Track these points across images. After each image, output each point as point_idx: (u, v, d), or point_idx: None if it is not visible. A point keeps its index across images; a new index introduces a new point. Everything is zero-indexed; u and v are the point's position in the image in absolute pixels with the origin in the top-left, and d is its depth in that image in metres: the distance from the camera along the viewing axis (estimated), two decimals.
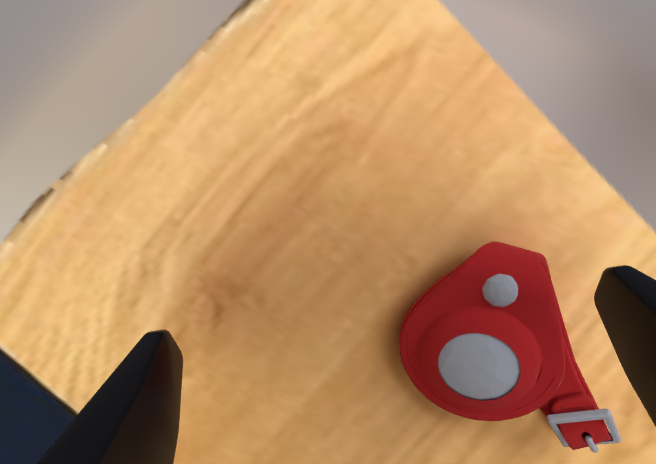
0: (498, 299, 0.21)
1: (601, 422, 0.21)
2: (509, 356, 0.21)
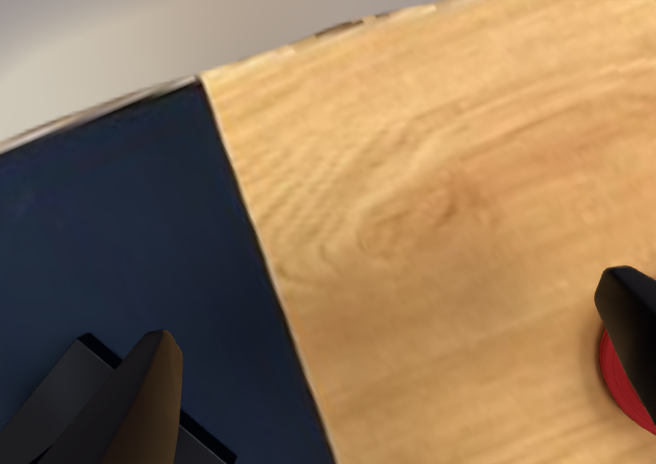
0: None
1: None
2: None
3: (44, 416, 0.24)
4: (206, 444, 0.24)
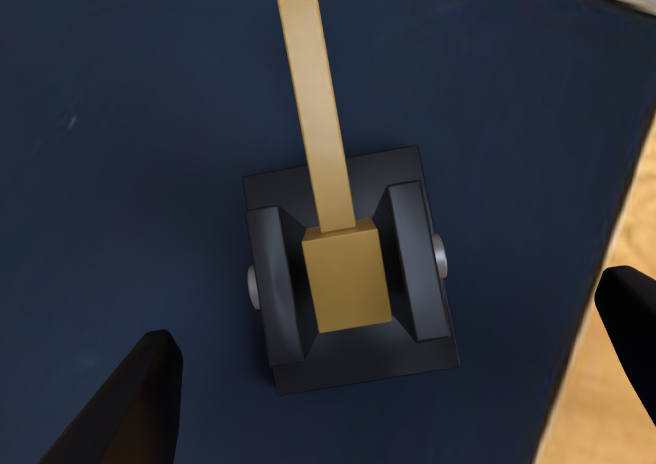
0: None
1: None
2: None
3: None
4: None
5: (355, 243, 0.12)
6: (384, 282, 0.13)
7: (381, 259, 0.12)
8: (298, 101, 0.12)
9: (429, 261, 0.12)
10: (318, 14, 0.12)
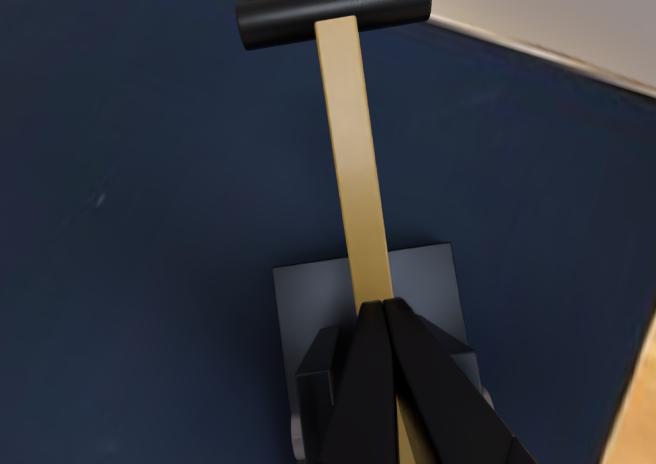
0: None
1: None
2: None
3: None
4: None
5: None
6: None
7: None
8: (351, 262, 0.12)
9: None
10: (376, 179, 0.12)
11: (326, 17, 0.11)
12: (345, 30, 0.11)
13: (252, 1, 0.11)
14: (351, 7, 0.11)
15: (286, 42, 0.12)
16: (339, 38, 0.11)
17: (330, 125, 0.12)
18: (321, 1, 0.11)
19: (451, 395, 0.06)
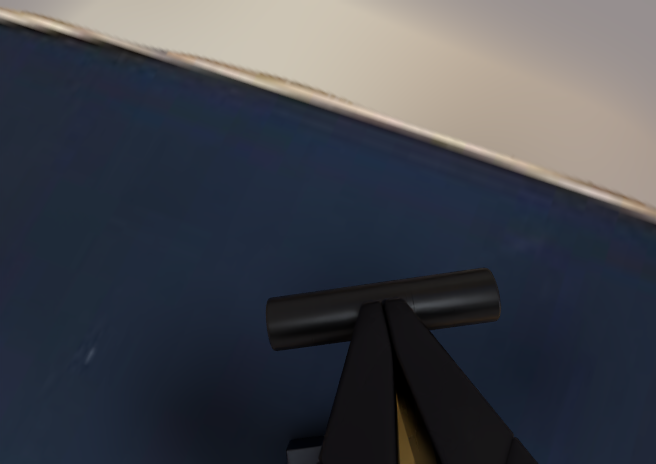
0: None
1: None
2: None
3: None
4: None
5: None
6: None
7: None
8: None
9: None
10: None
11: None
12: None
13: (286, 306, 0.10)
14: None
15: (324, 344, 0.10)
16: None
17: None
18: None
19: (451, 395, 0.06)
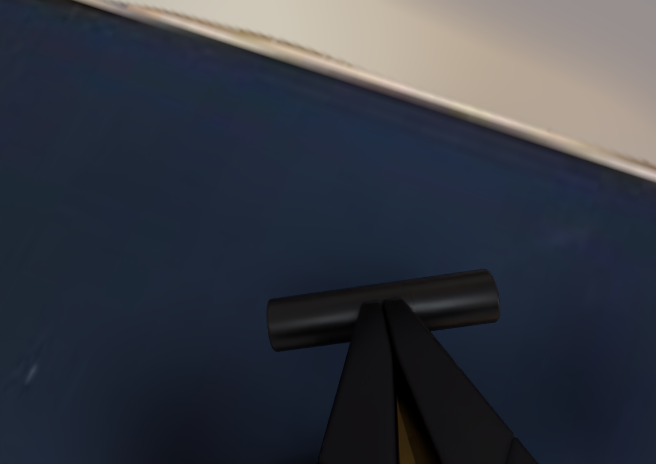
0: None
1: None
2: None
3: None
4: None
5: None
6: None
7: None
8: None
9: None
10: None
11: None
12: None
13: (287, 301, 0.10)
14: None
15: (324, 345, 0.10)
16: None
17: None
18: None
19: (451, 395, 0.06)
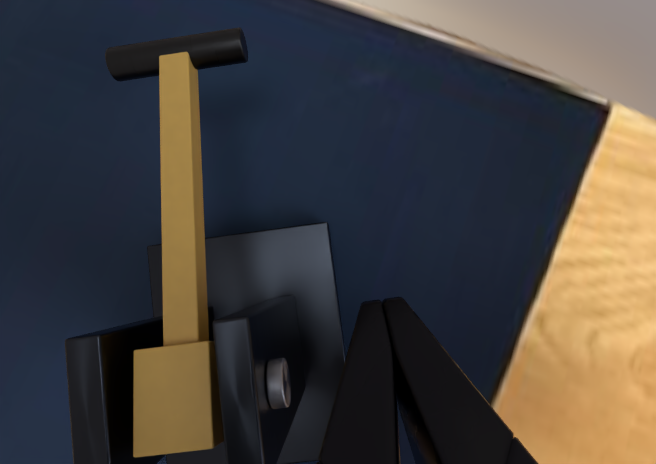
0: None
1: None
2: None
3: (237, 260, 0.21)
4: None
5: (185, 355, 0.12)
6: (209, 400, 0.12)
7: (209, 374, 0.12)
8: (162, 223, 0.14)
9: (250, 405, 0.11)
10: (190, 158, 0.15)
11: (167, 53, 0.16)
12: (179, 60, 0.16)
13: (120, 46, 0.16)
14: (185, 47, 0.16)
15: (142, 72, 0.16)
16: (174, 65, 0.16)
17: (160, 120, 0.15)
18: (164, 43, 0.16)
19: (451, 395, 0.06)
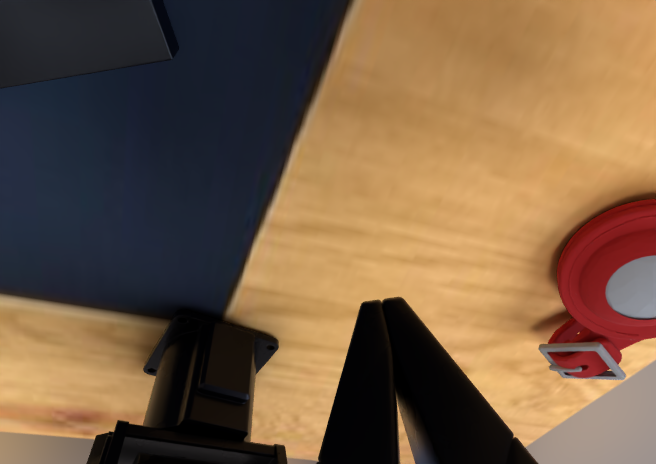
0: None
1: (602, 372, 0.25)
2: None
3: None
4: None
5: None
6: None
7: None
8: None
9: None
10: None
11: None
12: None
13: None
14: None
15: None
16: None
17: None
18: None
19: (451, 395, 0.06)
